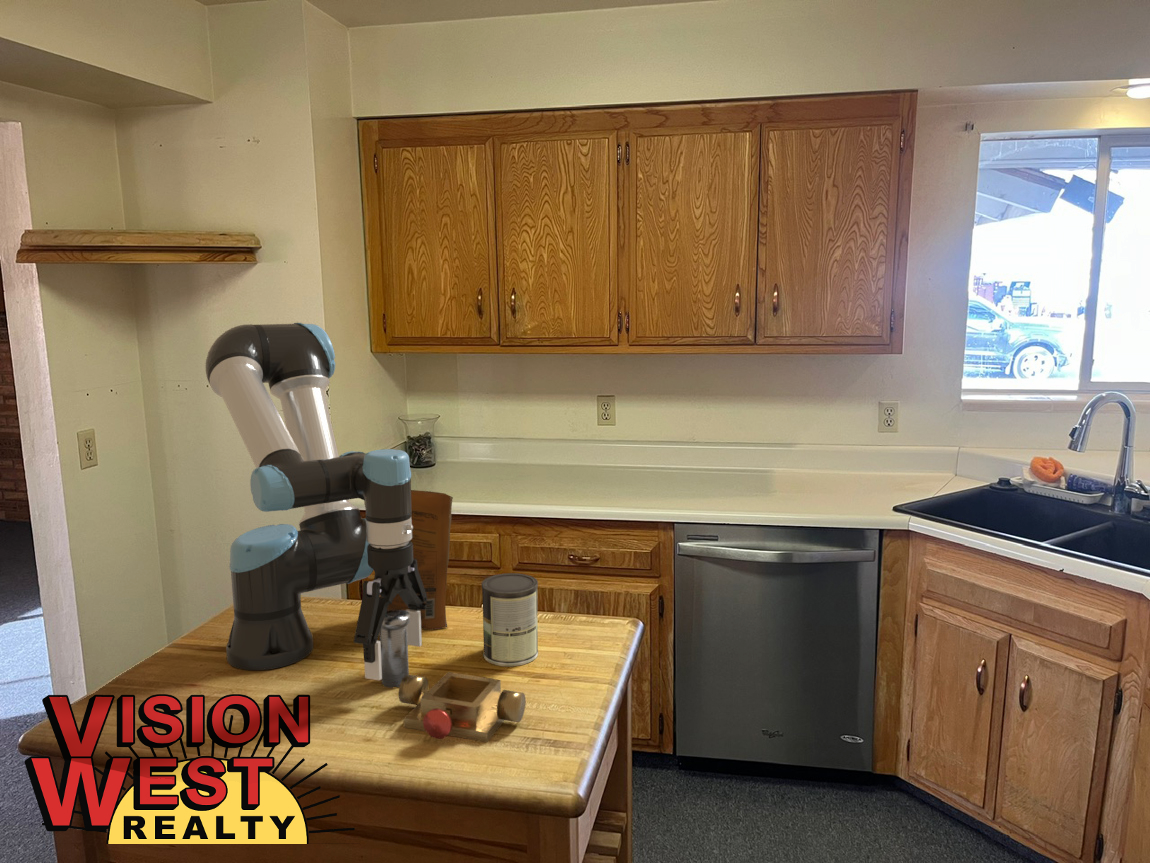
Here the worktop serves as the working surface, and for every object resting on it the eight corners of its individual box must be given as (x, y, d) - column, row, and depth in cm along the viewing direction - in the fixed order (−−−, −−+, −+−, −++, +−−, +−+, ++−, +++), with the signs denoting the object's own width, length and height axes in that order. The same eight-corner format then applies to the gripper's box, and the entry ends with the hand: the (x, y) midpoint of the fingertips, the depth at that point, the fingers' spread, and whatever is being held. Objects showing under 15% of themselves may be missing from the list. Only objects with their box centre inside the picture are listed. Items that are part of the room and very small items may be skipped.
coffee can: (471, 656, 150) (469, 583, 148) (510, 638, 158) (509, 569, 156) (511, 672, 144) (510, 596, 142) (549, 652, 152) (549, 580, 150)
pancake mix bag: (441, 636, 159) (443, 496, 155) (360, 619, 166) (361, 485, 162) (458, 625, 165) (461, 490, 161) (380, 609, 172) (381, 479, 168)
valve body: (378, 732, 124) (376, 701, 123) (423, 689, 138) (422, 660, 137) (499, 754, 118) (498, 721, 117) (534, 707, 132) (533, 677, 131)
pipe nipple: (372, 686, 139) (369, 620, 137) (389, 672, 144) (386, 607, 142) (401, 691, 137) (399, 623, 135) (417, 676, 142) (415, 611, 140)
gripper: (369, 567, 124) (375, 697, 127) (443, 524, 147) (447, 635, 151) (326, 562, 126) (333, 690, 129) (407, 520, 149) (410, 630, 153)
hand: (394, 661), depth 140 cm, fingers open, 13 cm apart
